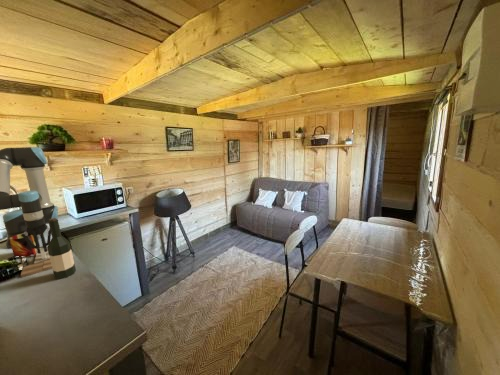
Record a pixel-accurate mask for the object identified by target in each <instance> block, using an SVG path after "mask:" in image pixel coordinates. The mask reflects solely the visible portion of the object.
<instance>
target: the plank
mask: <svg viewBox="0 0 500 375" xmlns="http://www.w3.org/2000/svg"><path fill="white" fill-rule="evenodd" d="M45 254H46V258H44V259H42V256H41V253H40V254H38V251H37V252H36V255H35V258H34V262H33V264H36V263H39V262H43V261H46V260H50V257H49V253H48V249H47V252H45Z"/></svg>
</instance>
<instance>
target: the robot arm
mask: <svg viewBox="0 0 500 375" xmlns="http://www.w3.org/2000/svg"><path fill="white" fill-rule="evenodd" d="M47 164H48V161H47V158H46V155H45V153H44V151H43V149H42V148H41V147H39V146H38V147H37V146H29V147H24V146H23V147H5V148H1V149H0V211H2V210H9V209H16V208H20V209H16V210H12V211H8V212H6V213H4V214H3V215H2V219H3V224H4V226H5V230H6V235H7V239H6V243H5V244H6V245H5V246H6V248H7V249H12V247H11V243H10V240H9V238H11V237H13V236H15V235H19V234H21V236H22V237H24V238H25V239H26V241H27V242H28V244H29V245H30V247H31V248H32V249H34V248H36V250H37V251H38V254H40V253H41V256H42V259H44V258H46V254H45V252H47V247H48V245H49V243H50V241H51V239H52V235H51V231H50V226H48V225H49V222H48V221H49V219H52V218H56V219H57V220H58V221H59V214H58V213H59V208H58V206H57V205H55V203H53V202H51V199H50V193H49V189H48V186H47V182H46V176H45V173H44V169H45V168H46V165H47ZM17 166H18V167H19V166H20V168H21V169H22V170H23V171H24V172H25V175H26V179H27V180H26V181H27V184H28V188H29V190H26V191H21V192H19V193H15V194H11V169H12V168H13V167H17ZM47 224H48V225H47ZM46 230H47V240H46V238H45V235H44V234H45V232H46ZM28 233H29V234H31V235H33V238H34V242H35V245H34V243H33V242H32V240H31V239H30V238H29V236H28ZM38 235H39V236H40V238H39V236H38ZM39 239H40V241H41V244H42V246H41V245H40V241H39Z"/></svg>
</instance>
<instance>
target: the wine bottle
mask: <svg viewBox="0 0 500 375" xmlns="http://www.w3.org/2000/svg"><path fill="white" fill-rule="evenodd" d="M48 222H49V224H48V227H50V231H51V238H50V243H49V245H47V246H46V247H47V249H48V253H49V257H50V261H51V265H52V269H51V270H52V273H53V277H54V278H55V279H56V280H62V279H66V278H69V277H71V276H72V275H74V274H75V273H76V271H77V270H76V265H75V264H76V263H75V260H74V256H73V250H72V246H71V242H70V240H68V239H67V238H66V237H64V236H63V235H62V232H61V228H60V223H59V219H58V220H57V219H56V218H52V219H49V221H48Z"/></svg>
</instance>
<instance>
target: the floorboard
mask: <svg viewBox="0 0 500 375" xmlns="http://www.w3.org/2000/svg"><path fill="white" fill-rule="evenodd" d="M49 270H53V269H52V265H51V261H50V260H46V261H43V262H39V263H36V264H34V263H32V264H29V265H25V266H23V267H22V270H21V272H20V278H26V277H28V276H32V275H36V274H39V273H42V272H45V271H49Z"/></svg>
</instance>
